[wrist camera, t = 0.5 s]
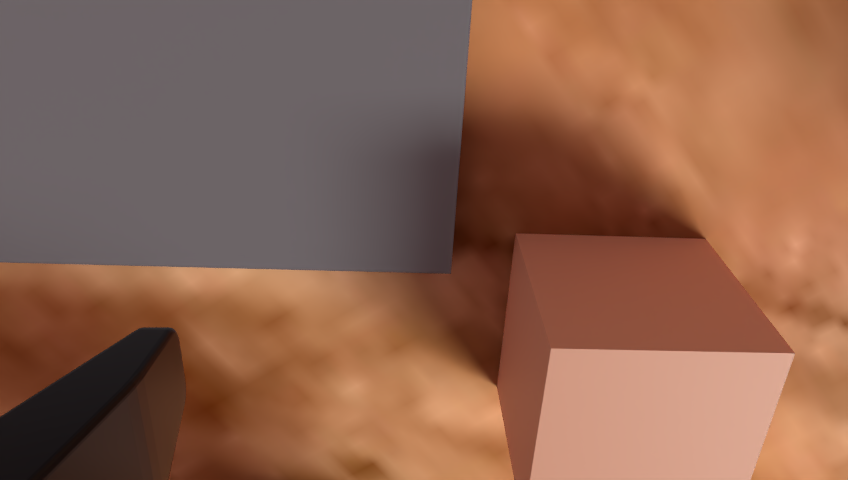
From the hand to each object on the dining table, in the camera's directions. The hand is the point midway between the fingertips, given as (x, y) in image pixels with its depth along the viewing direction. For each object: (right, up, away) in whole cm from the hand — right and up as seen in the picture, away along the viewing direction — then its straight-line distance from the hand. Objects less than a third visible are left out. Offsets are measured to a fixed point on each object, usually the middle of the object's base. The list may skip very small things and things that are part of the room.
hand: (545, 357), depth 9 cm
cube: (+4, -1, +16) cm, 16 cm away
